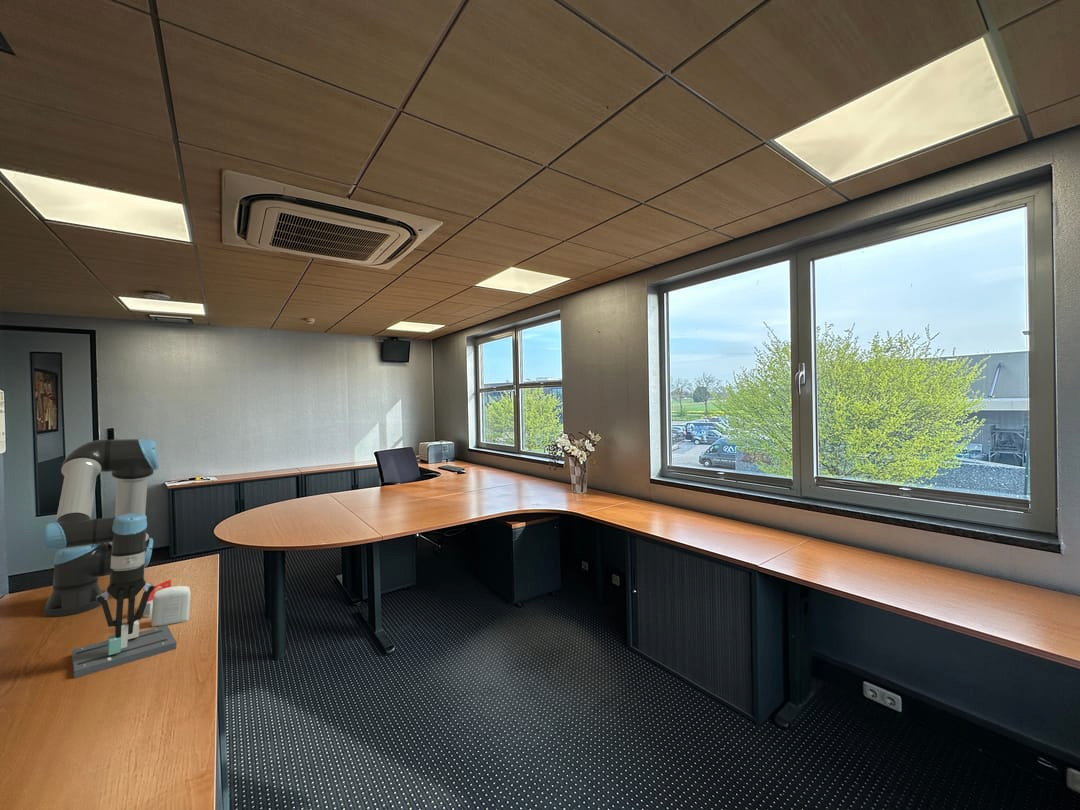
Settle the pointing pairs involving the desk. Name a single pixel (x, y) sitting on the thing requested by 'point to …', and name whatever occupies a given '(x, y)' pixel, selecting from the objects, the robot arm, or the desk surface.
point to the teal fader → (114, 645)
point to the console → (122, 651)
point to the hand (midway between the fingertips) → (123, 646)
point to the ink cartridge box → (150, 600)
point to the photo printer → (171, 605)
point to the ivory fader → (134, 630)
